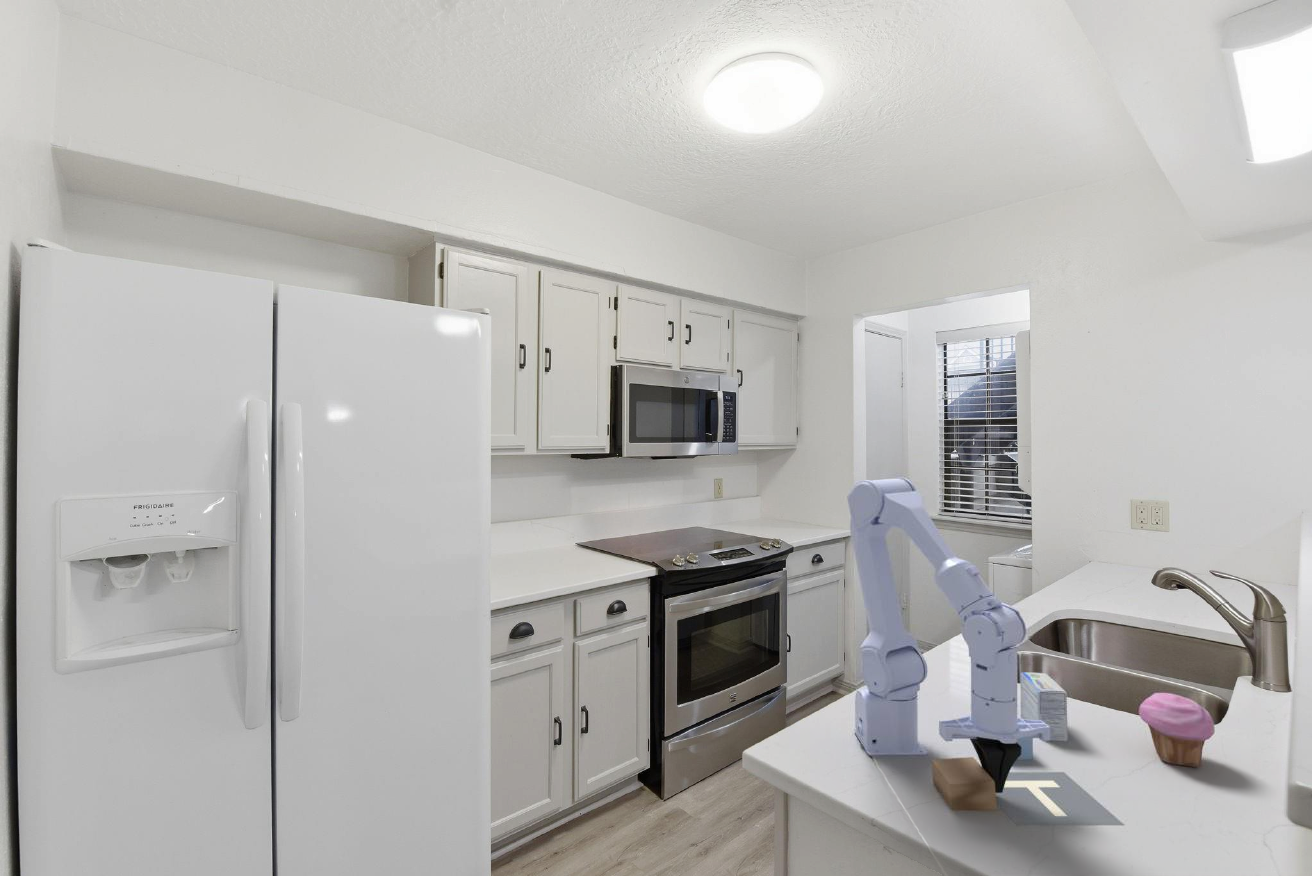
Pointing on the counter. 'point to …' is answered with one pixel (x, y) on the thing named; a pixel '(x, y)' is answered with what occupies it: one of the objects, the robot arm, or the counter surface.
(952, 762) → the walnut block
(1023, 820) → the board
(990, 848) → the counter surface
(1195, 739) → the cupcake
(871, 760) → the counter surface
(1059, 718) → the medicine box
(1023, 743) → the blue cube
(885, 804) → the counter surface
